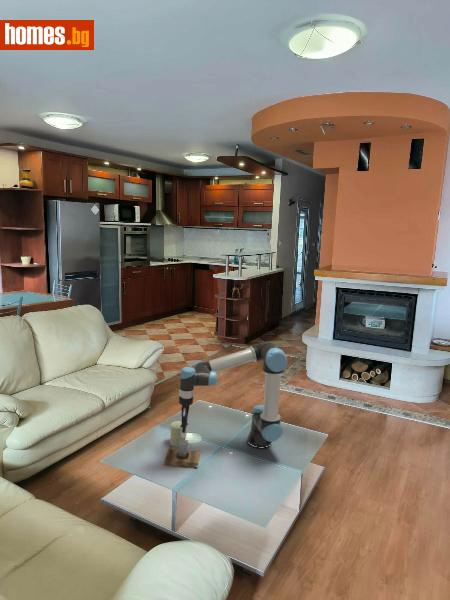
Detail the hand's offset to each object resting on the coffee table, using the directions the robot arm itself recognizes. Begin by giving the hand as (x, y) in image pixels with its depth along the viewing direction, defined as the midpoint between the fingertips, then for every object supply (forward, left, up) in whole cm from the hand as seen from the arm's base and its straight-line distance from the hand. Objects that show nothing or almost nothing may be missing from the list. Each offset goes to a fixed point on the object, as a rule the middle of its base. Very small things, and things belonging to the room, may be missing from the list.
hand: (183, 436), depth 222 cm
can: (+5, -18, -14) cm, 24 cm away
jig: (0, 0, -14) cm, 14 cm away
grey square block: (0, 0, -14) cm, 14 cm away
